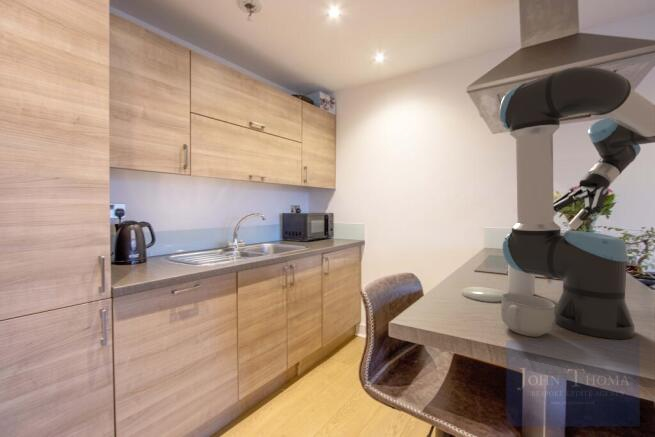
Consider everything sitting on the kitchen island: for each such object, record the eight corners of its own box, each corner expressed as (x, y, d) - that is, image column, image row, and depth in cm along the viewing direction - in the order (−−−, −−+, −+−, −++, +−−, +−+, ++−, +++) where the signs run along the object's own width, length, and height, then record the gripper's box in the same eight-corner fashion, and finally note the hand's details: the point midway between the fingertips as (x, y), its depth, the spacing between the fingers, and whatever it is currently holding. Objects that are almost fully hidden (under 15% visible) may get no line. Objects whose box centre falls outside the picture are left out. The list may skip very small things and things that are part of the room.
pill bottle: (534, 292, 108) (535, 249, 108) (534, 297, 101) (536, 252, 101) (508, 288, 112) (508, 248, 112) (507, 293, 106) (508, 250, 105)
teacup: (518, 320, 81) (519, 290, 81) (564, 336, 71) (565, 301, 71) (482, 329, 75) (482, 297, 75) (527, 347, 65) (528, 310, 65)
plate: (506, 304, 94) (506, 300, 94) (457, 297, 102) (457, 293, 102) (509, 294, 105) (510, 290, 105) (465, 288, 113) (465, 284, 113)
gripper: (643, 184, 94) (595, 236, 94) (575, 188, 118) (538, 229, 119) (626, 168, 93) (578, 220, 94) (562, 174, 118) (524, 216, 119)
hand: (555, 225), depth 106 cm, fingers open, 13 cm apart
